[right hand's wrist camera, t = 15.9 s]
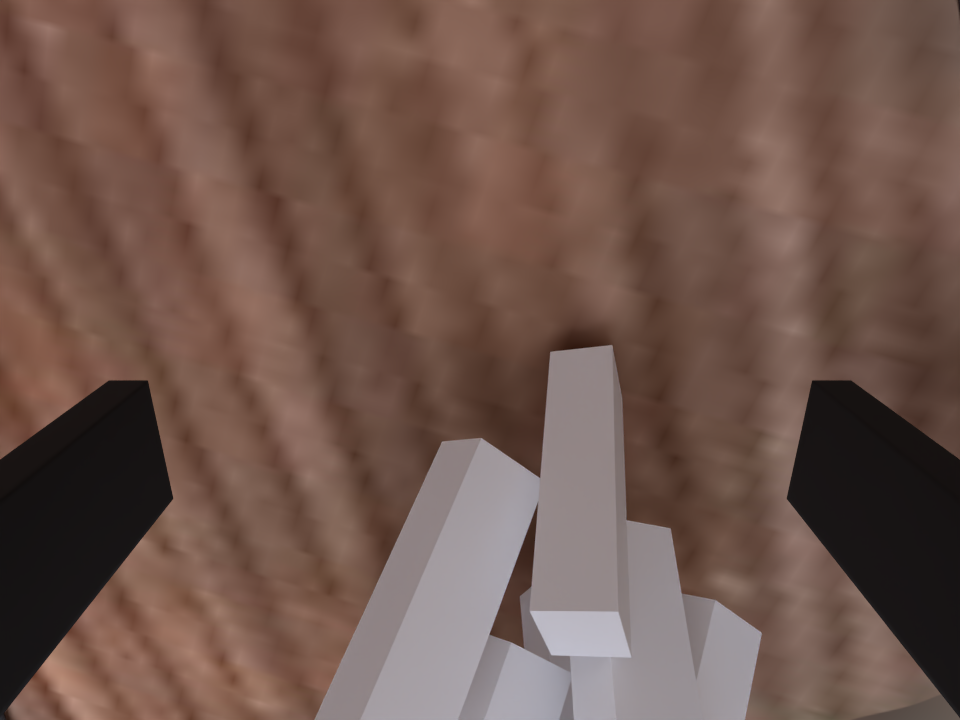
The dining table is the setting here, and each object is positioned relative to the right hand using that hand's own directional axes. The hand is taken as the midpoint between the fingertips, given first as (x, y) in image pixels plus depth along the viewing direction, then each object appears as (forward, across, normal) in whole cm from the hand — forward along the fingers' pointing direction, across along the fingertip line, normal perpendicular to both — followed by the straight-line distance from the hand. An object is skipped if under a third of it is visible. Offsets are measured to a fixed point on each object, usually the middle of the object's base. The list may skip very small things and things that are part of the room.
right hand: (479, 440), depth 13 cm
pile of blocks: (+30, -3, +28) cm, 41 cm away
